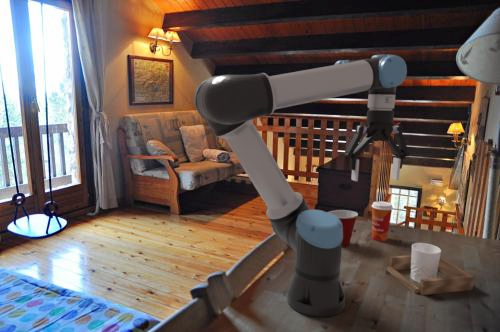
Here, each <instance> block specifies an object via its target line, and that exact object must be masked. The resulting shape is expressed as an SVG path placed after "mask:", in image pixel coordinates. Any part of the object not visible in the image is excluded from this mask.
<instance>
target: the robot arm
mask: <svg viewBox="0 0 500 332" xmlns="http://www.w3.org/2000/svg"><path fill="white" fill-rule="evenodd" d="M407 68H408V67H407V64H406V61H405V60H404V58H402V57H401V56H400V55H395V54H384V53H383V54H375V55H372V56H371V58H365V59H363V58H362V59H356V60H349V59H345V60H341V59H340V60H338V61H336V62H335V63H334V64H333V65H328V66H327V65H326V66H322V67H315V68H310V69H304V70H298V71H294V72H287V73H281V74H276V75H271V76H270V75H268V74H267V73H265V72H260V73H256V74H222V75H213V76H211V77H208V78H206V79H205V80H203V81H202V82H201V84H199V86H197V89H196V91H195V94H194V105H195V108H196V111H197V112H198V114H199V116H201V117H202V118H203V119H204V120H205V121H206V122H207V125H209V127H210V129H211V130H212V132H213V133H214V135H215V136H216V137H217V138H219V139H224V140H225V142H226V143H227V145H228V146H229V148H230V149H231V151H232V153H233V155H234V156H235V158H236V159H237V160H238V162H239V164H240V165H241V166H242V167H241V168H243V170H244V172H245V173H246V175H247V176H248V179H249V180H250V182H251V183H252V184H253V186H254V188H255V190H256V191H257V192H258V194H259V196H260V197H261V199H262V201H263V202H264V204H265V206H266V207H267V209H266V212H265V213H266V215H265V216H266V217H267V218H268V220H269V222H270V225H271V227H272V231H273V232H274V234H275V235H276V236H277V237H278V238H280V240H282V241H283V242H284V243H286V245H288V246H289V247H290V248H291V249H292V250H293V251H294V252H295V253H294V254H295V255H294V257H295V260H294V272H293V275H292V277H291V280H290V282H289V285H288V288H287V292H286V301H287V304H288V305H289V306H290V307H291V308H292V309H293V310H294V311H296V312H298V313H300V314H303V315H306V316H311V317H317V318H326V317H332V316H333V317H334V316H335V315H338V314H340V313H341V312H342V311H344V308H345V306H346V295H345V291H344V287H343V283H342V280H341V279H342V278H341V263H342V260H341V259H342V240H343V227H342V223H341V221H340V219H339V218H338V217H336V216H335V215H333V214H331V213H329V212H330V211H328V212H327V211H326V212H325V211H324V210H321V209H311V208H310V206H309V205H308V203H307V202H306V200H305V197H303V194H301V192H299V191H298V192H297V191H294V190H293V188H292V187H291V185H290V183H289V181H288V180H287V178H286V176H285V175H284V173H283V171H282V169H281V168H280V167H279V165H278V163H277V161H276V160H275V157H274V156H273V154H272V153H271V151H270V149H269V148H268V146H267V144H266V143H265V141H264V139H263V137H262V135H261V134H260V132H259V130H258V129H257V127H256V126H255V124H254V119H258V118H262V117H267V116H271V115H272V114H273V113H274V112H275V110H278V109H283V108H284V109H285V108H288V107H292V106H293V107H294V106H297V105H304V104H308V103H312V102H318V101H322V100H327V99H332V98H333V99H334V98H336V97H341V96H347V95H351V94H357V93H362V92H366V91H367V92H368V98H367V108H368V109H367V112H366V125H365V126H364V125H356V127H355V131H354V134H353V136H352V139H351V140H350V142H349V144H348V146H347V148H346V149H345V152H344V154H343V155H344V156H345V157H347V158H348V159H349V169H350V170H351V178H350V179H351V181H354V182H359V168H360V159H358V157H359V156H360V155H361V154H362V153H363V152H364V151H365V149H366V148H367V147H368V146H369V145H371V144H372V142H373V141H374V142H379V141H381V142H385V143H386V144H387V145H388V147H389V148H390V150H391V151H392V153H393V154H394V156H395V157H393V158H392V159H393V160H392V169H391V179H393V180H395V181H399V180H400V171H401V169H402V168H403V161H404V160H405V159H406V157H409V156H410V152H409V148H408V146H407V143H406V140H405V137H404V134H403V126H401V125H394V126H393V123H394V120H395V119H394V117H395V116H394V115H395V111H394V109H395V104H396V103H395V102H396V93H397V87H398V86H400V85H401V84H403V82H404V81H405V79H406V77H407V74H408V69H407ZM365 132H366V134H365ZM392 133H393V134H394V138H395V140H396V142H395V141H394V138H393V136H392ZM364 134H365V136H364V137H363V135H364ZM362 137H363V139H362ZM361 139H362V141H361ZM396 143H397V144H396Z"/></svg>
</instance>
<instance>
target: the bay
mask: <svg viewBox="0 0 500 332" xmlns="http://www.w3.org/2000/svg"><path fill="white" fill-rule="evenodd" d="M409 269H410V270H411V254H408V255H407V254H406V255H396V256H395V255H394V256H393V255H391V256H389V265H388V266H387V267H386V272H388V273H389V274H390V275H392V276H393V277H394V278H396V280H398V281H399V282H400V283H401V284H403V285H404V286H406V288H408V289H409V290H410V291H411V292H412V293H413V294H420V295H421V296H424V295H425V296H427V295H435V294H446V293H454V292H464V291H466V292H467V291H473V289H474V288H473V287H474V281H475V280H474V279H475V277H474V276H473V275H472V274H470V273H468V272H467V271H466V270H463V269H462V268H461V267H459V266H457V265H456V264H453V263H452V262H451V261H449V260H447V259H446V258H444V257H442V256H440V260H439V266H438V271H439V272H440V273H442V274H443V275H445V276H444V277H436V278H432V279H421V281H420V283H419V287H418V286H417V285H415V284H414V283H413V282H412V281H411V280H409V279H408V278H407V277H405V276H404V275H403V274H401V273H400V272H399V270H409ZM397 270H398V271H397Z"/></svg>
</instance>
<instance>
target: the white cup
mask: <svg viewBox="0 0 500 332" xmlns="http://www.w3.org/2000/svg"><path fill="white" fill-rule="evenodd" d="M441 253H442V250H441V248H440V247H438V246H436V245H434V244H430V243H425V242H416V243H412V244H411V254H410V255H411V269H410V278H411V279H412V280H413V281H415V283H418V284H420V281H421V279H432V278H437V274H438V271H439V270H438V266H439V260H440V257H441V255H442V254H441Z"/></svg>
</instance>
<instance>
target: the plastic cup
mask: <svg viewBox="0 0 500 332" xmlns="http://www.w3.org/2000/svg"><path fill="white" fill-rule="evenodd" d="M328 212H329V213H331V214H333V215H335V216H336V217H338V218H339V219H340V221H341V223H342V227H343V240H342V247H349V245H350V244H351V239H352V236H353V232H354V227H355V223H356V221H357V217H358V216H359V214H358V212H357V211H353V210H347V209H346V210H345V209H335V210H331V211H328Z"/></svg>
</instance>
